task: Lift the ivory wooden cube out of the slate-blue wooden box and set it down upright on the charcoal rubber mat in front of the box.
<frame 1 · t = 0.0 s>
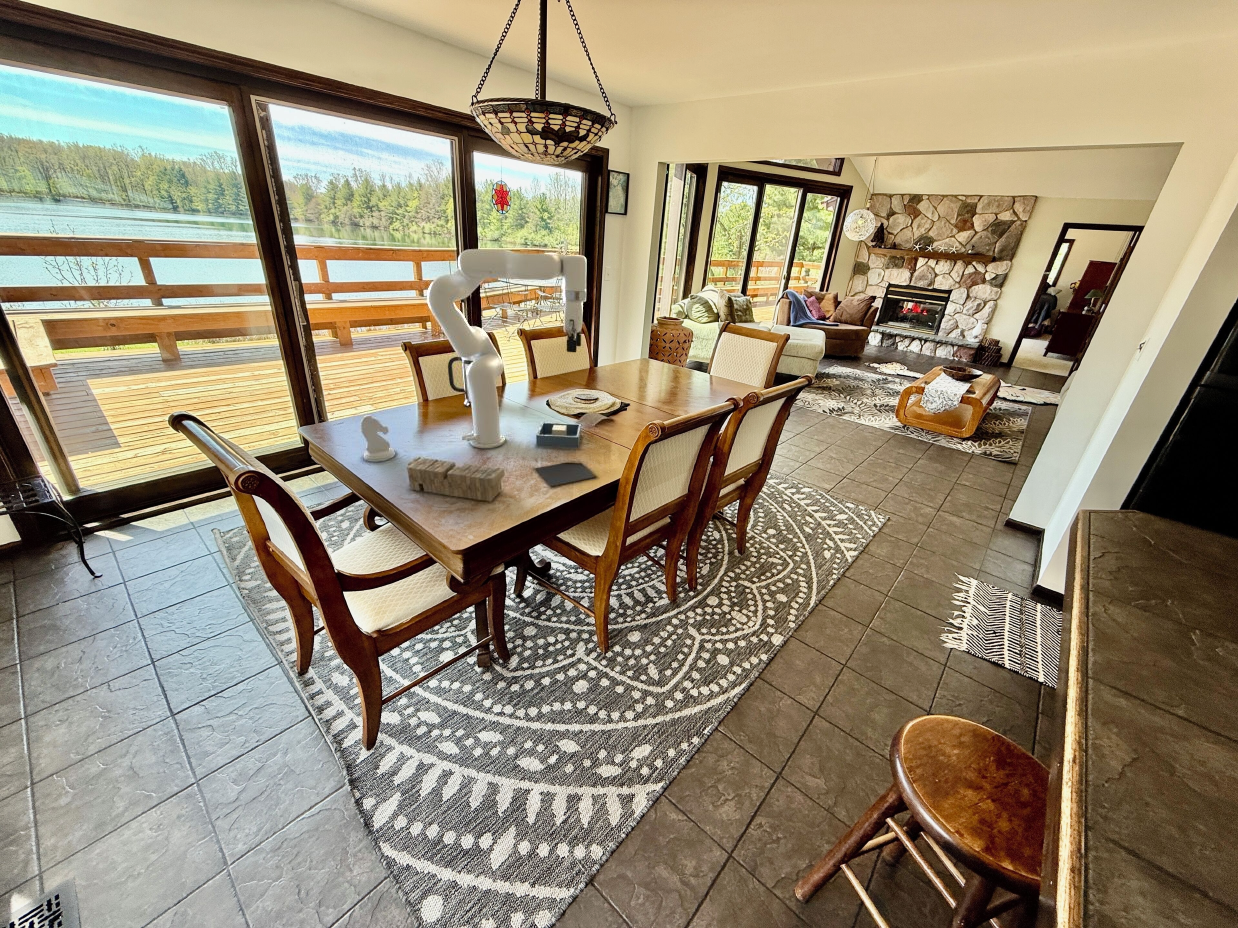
hand: (574, 349, 163), 37 cm above the table, tool pointing down, fingers open, 9 cm apart
mat: (565, 473, 161), on the table
block tower: (456, 490, 147), on the table
bin: (559, 441, 185), on the table
chess piece: (379, 456, 167), on the table
block: (559, 439, 185), point 1 cm above the table, touching bin
grey curved sheet: (595, 422, 207), on the table
coffee press: (476, 403, 221), on the table
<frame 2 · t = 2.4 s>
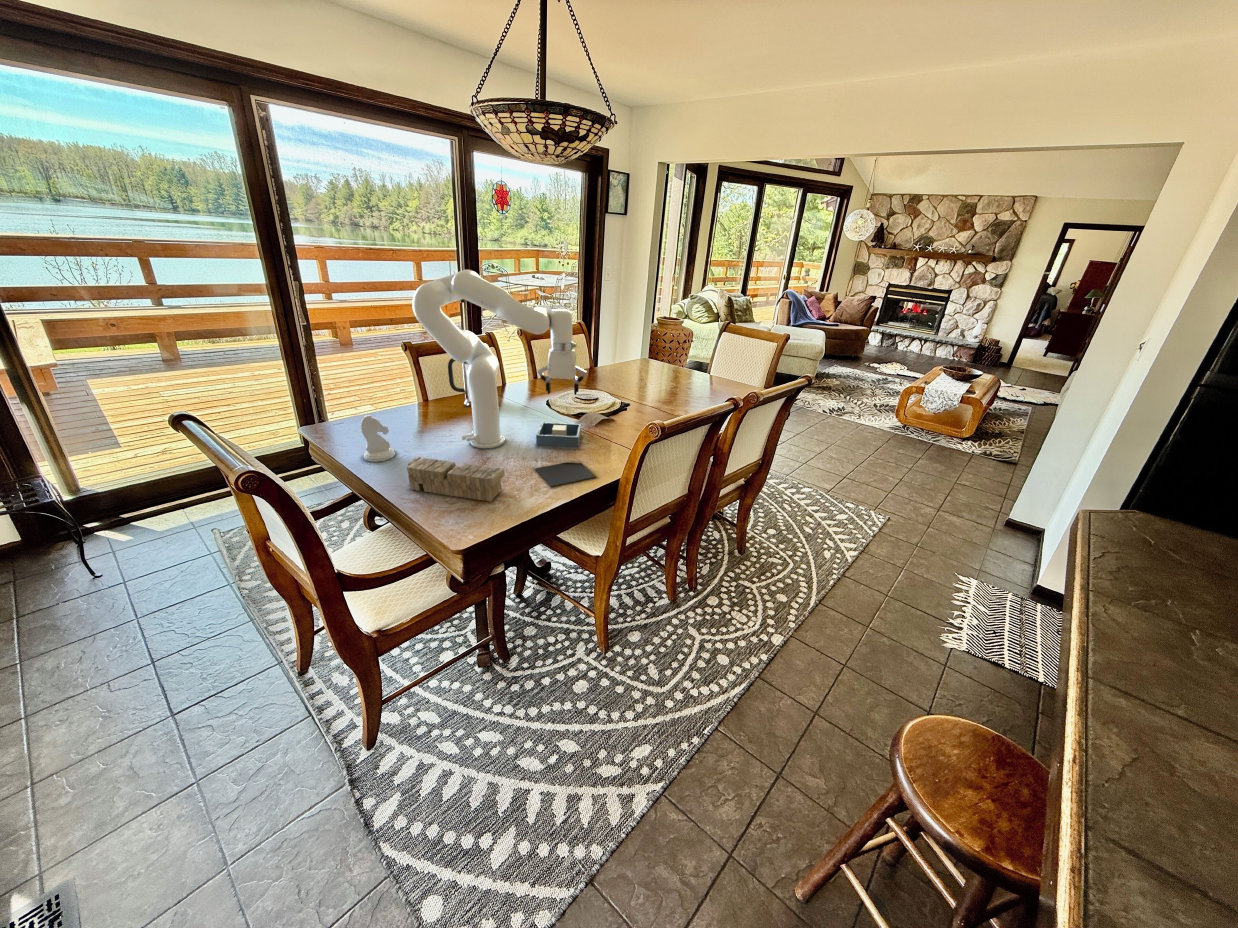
hand: (562, 393, 176), 20 cm above the table, tool pointing down, fingers open, 9 cm apart
nothing on the table moved.
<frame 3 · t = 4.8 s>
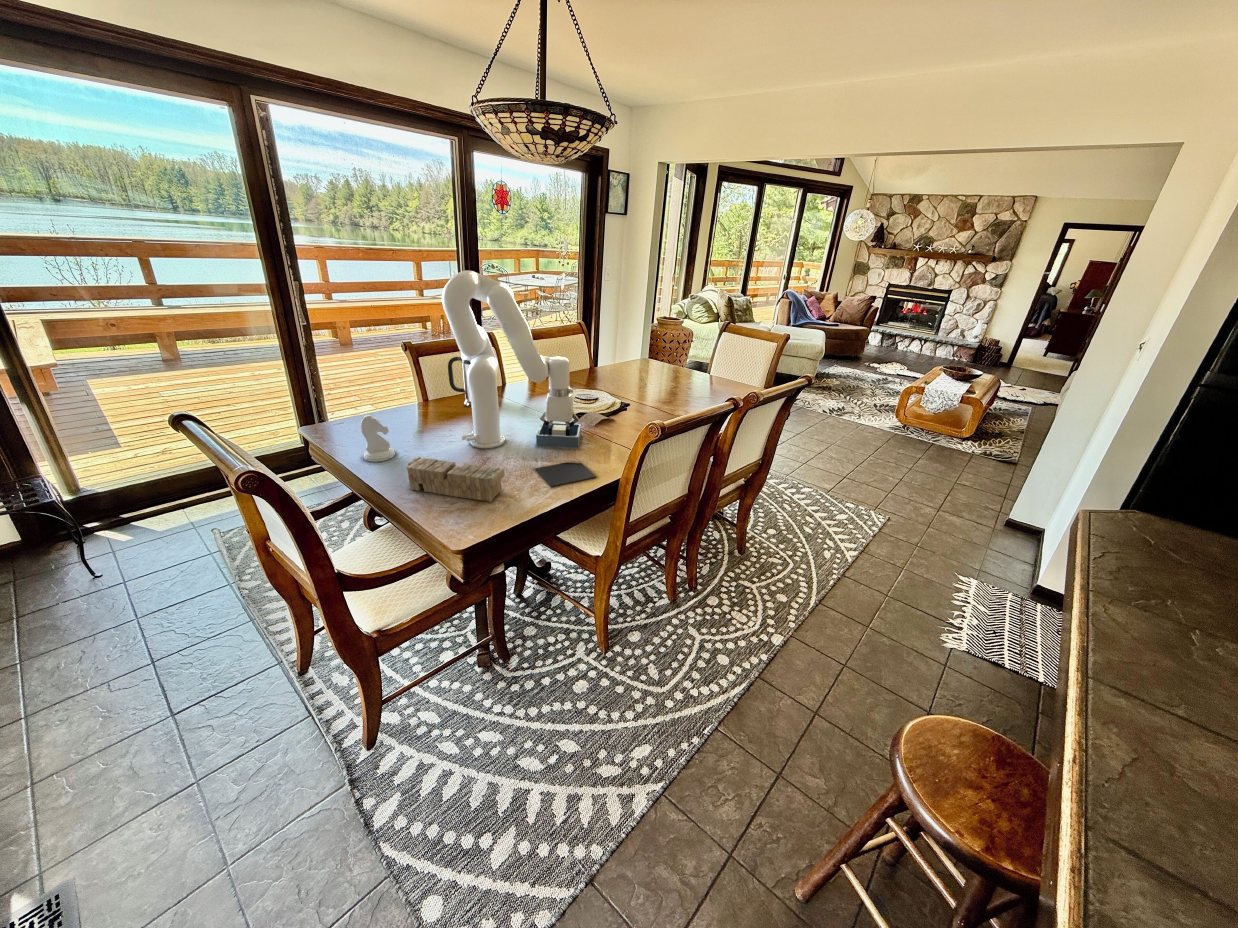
hand: (559, 436, 184), 2 cm above the table, tool pointing down, fingers closed on block, 5 cm apart
block: (559, 439, 185), point 1 cm above the table, touching bin, gripper
everything else where it was.
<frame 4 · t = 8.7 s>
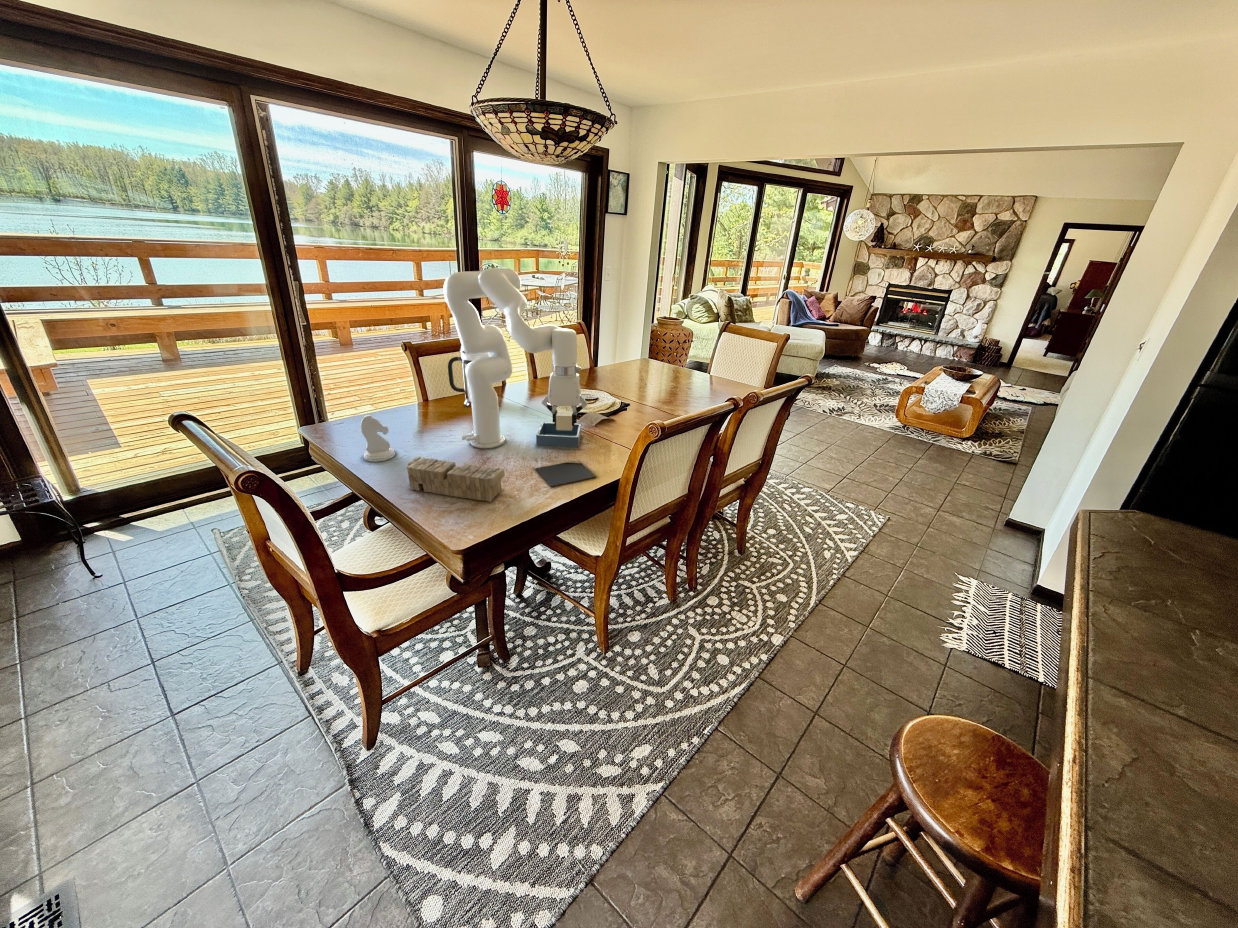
hand: (564, 424, 157), 16 cm above the table, tool pointing down, fingers closed on block, 5 cm apart
block: (564, 427, 158), point 15 cm above the table, touching gripper
everything else where it was.
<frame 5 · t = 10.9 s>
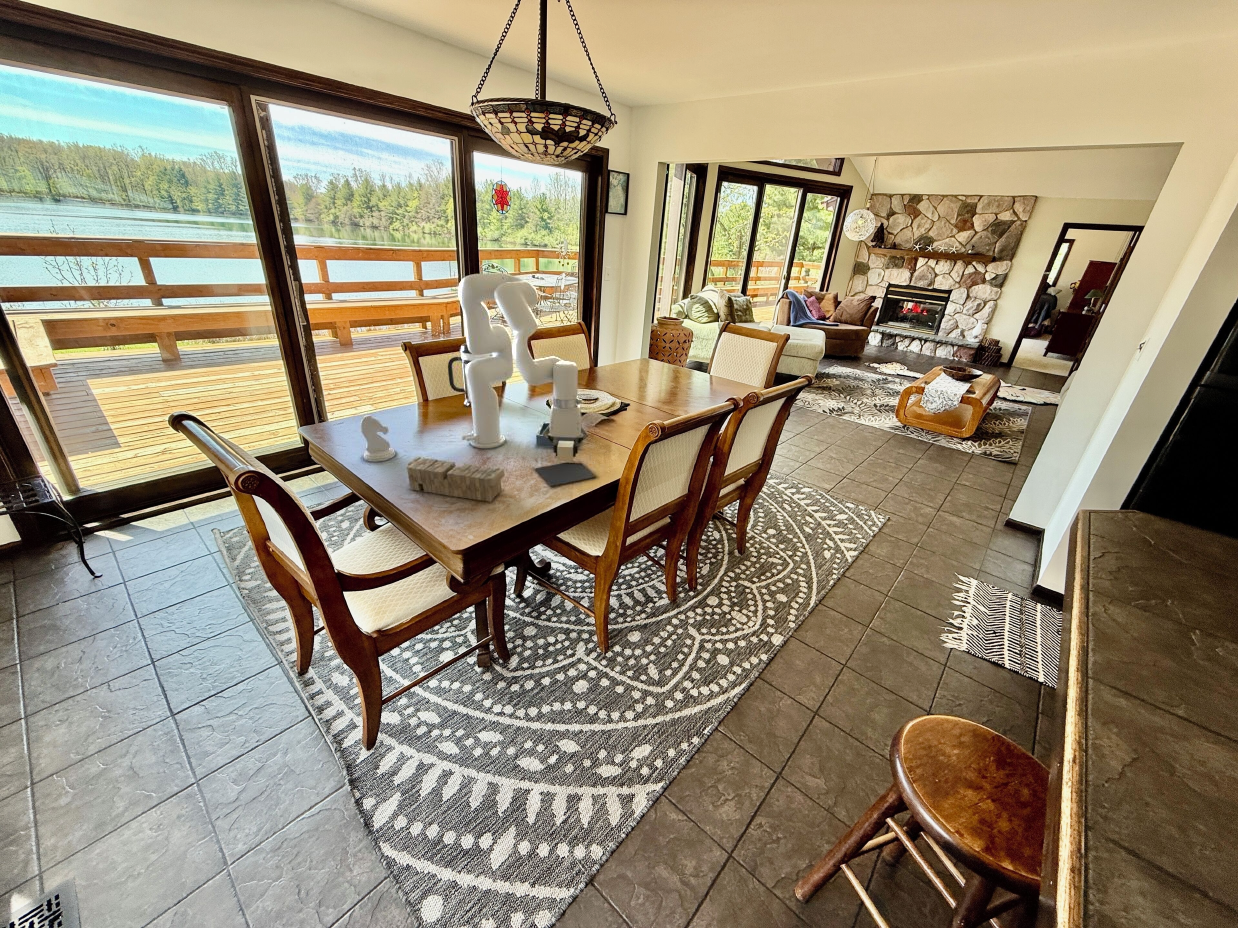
hand: (565, 454, 158), 7 cm above the table, tool pointing down, fingers closed on block, 5 cm apart
block: (565, 457, 158), point 6 cm above the table, touching gripper
everything else where it was.
when the fingers open (2 cm above the table, at t = 12.6 s): block stays where it is, resting on mat.
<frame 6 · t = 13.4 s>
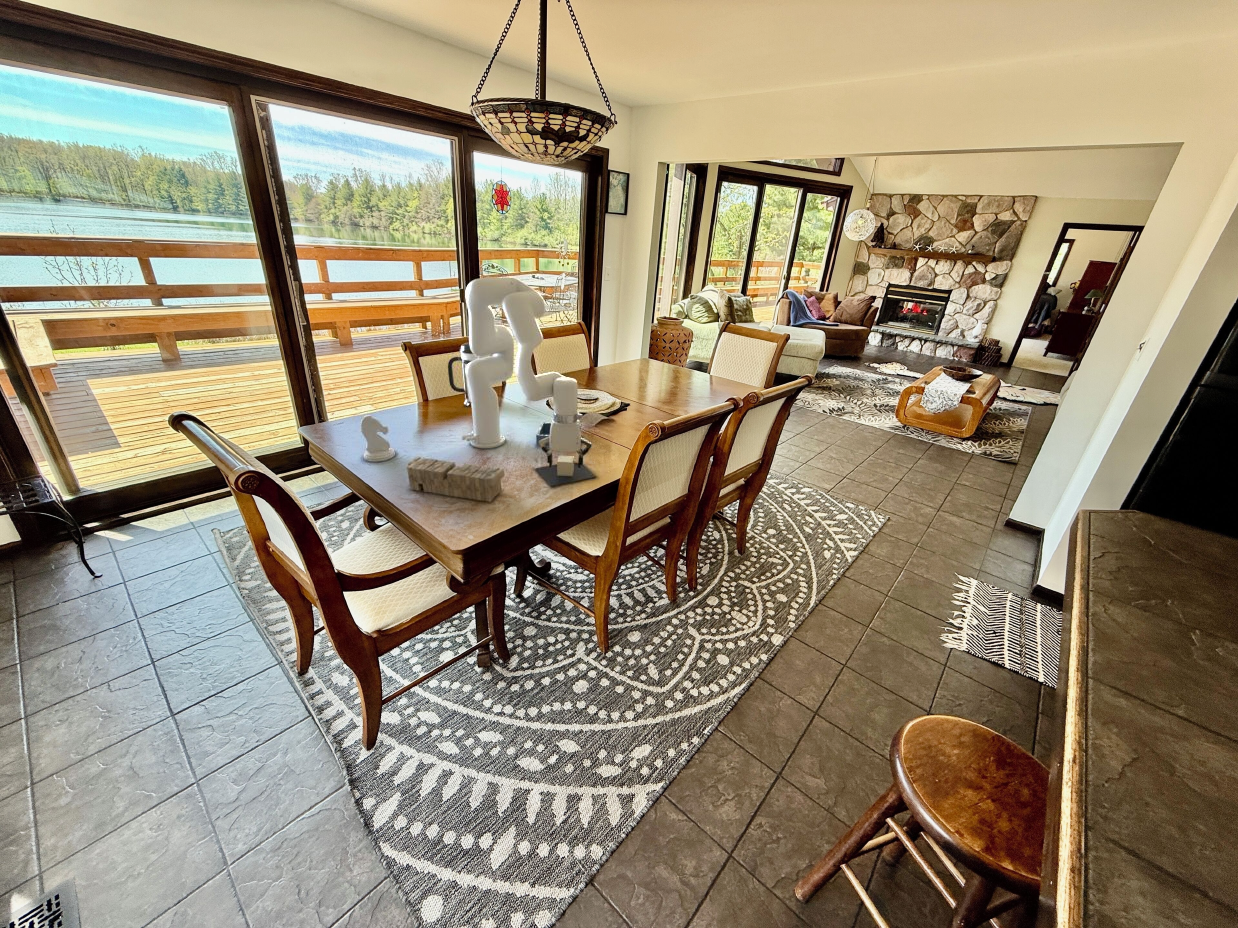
hand: (565, 465, 160), 3 cm above the table, tool pointing down, fingers open, 9 cm apart
block: (565, 472, 161), resting on mat
everything else where it was.
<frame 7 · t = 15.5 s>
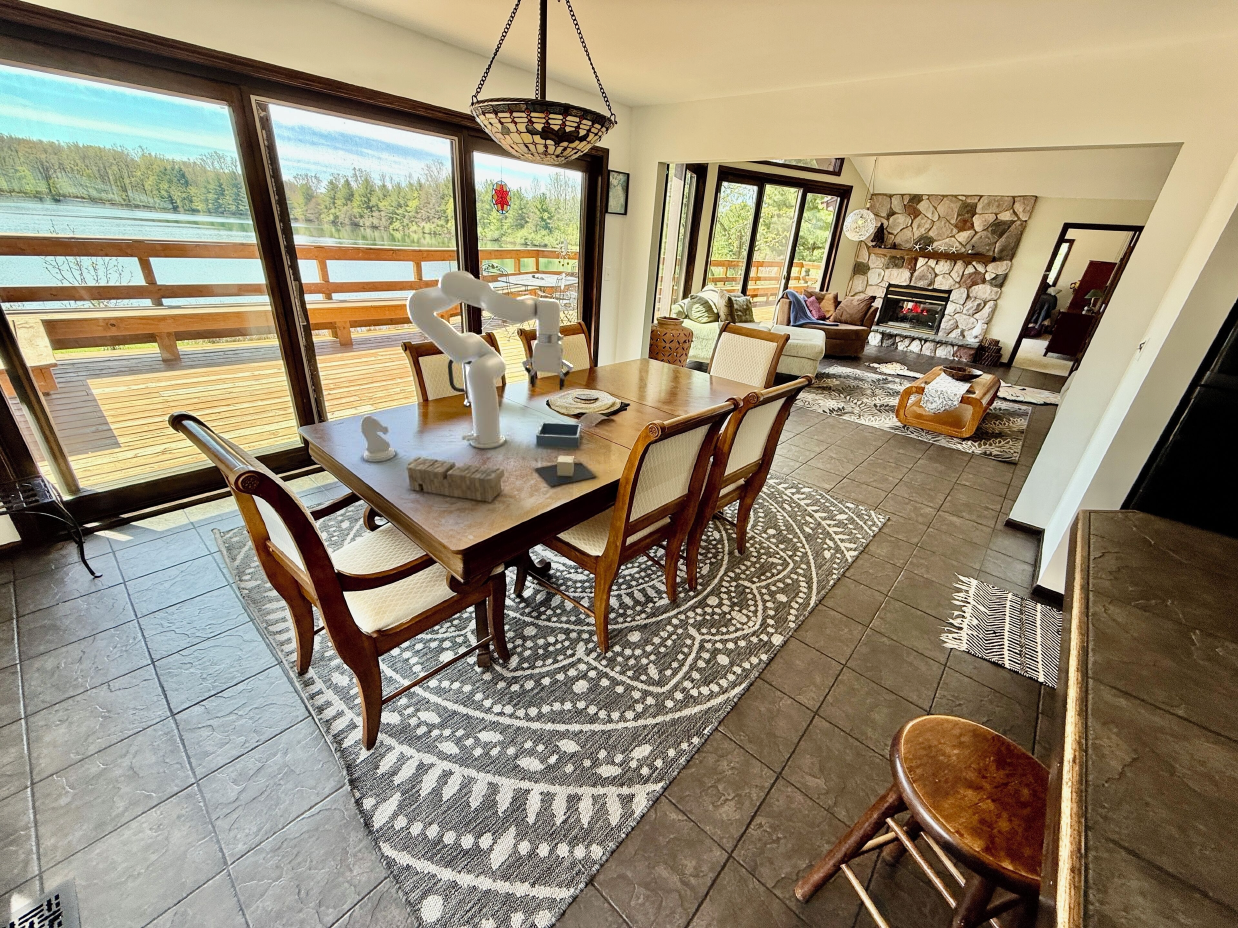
hand: (547, 387, 167), 24 cm above the table, tool pointing down, fingers open, 9 cm apart
nothing on the table moved.
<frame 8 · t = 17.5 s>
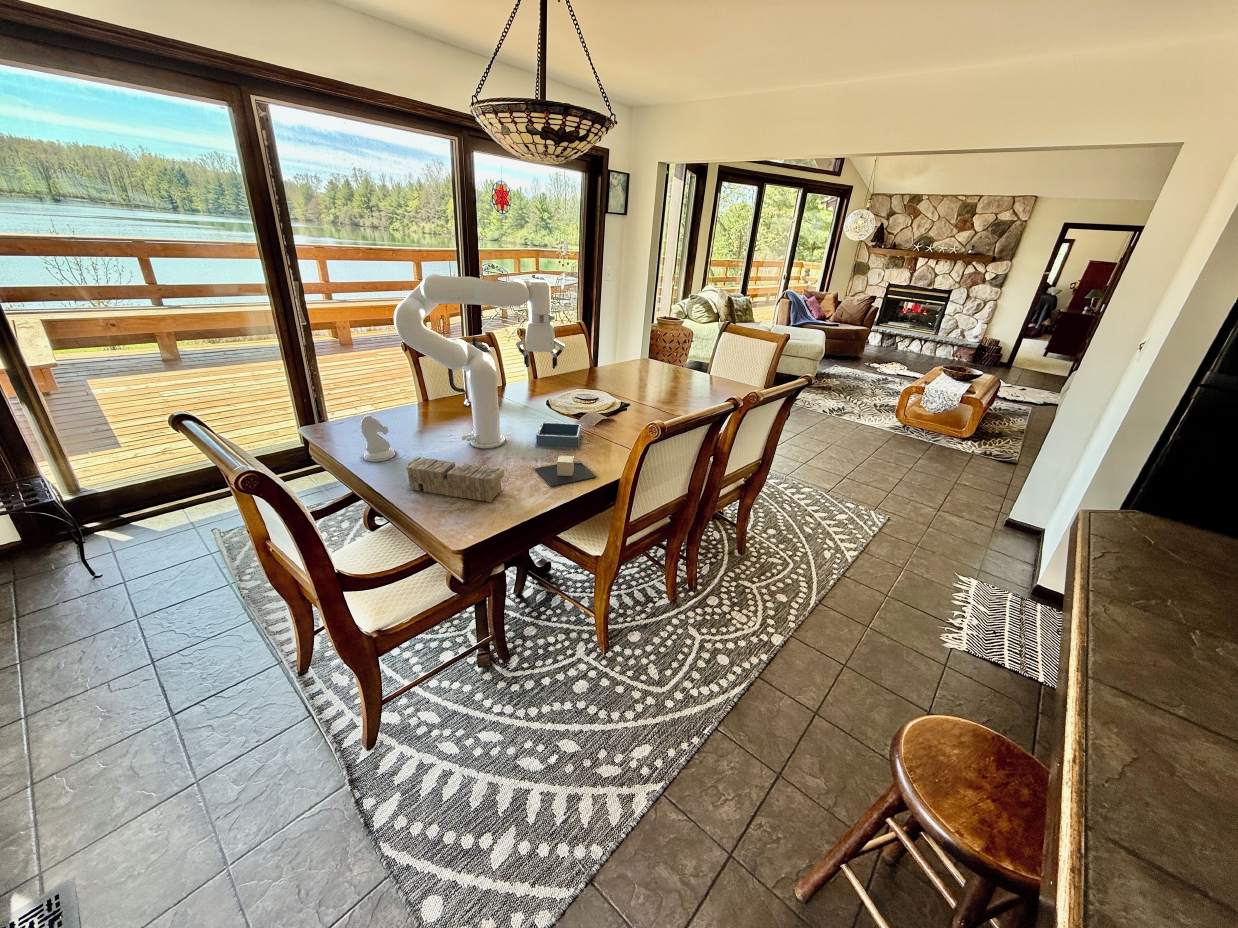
hand: (540, 367, 175), 28 cm above the table, tool pointing down, fingers open, 9 cm apart
nothing on the table moved.
at the end: block inside the target area on the mat (0.1 cm from its centre), point 0.4 cm above the mat's base; block tilted 0°; block touching mat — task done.
